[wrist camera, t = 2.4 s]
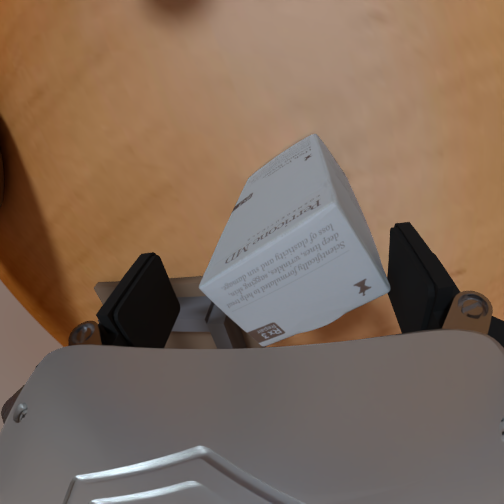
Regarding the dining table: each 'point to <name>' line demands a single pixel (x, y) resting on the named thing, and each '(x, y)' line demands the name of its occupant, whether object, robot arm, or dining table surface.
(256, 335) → the skincare box
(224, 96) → the dining table surface
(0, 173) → the painted clay vase
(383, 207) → the dining table surface
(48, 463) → the robot arm
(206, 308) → the socket stand
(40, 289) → the dining table surface
